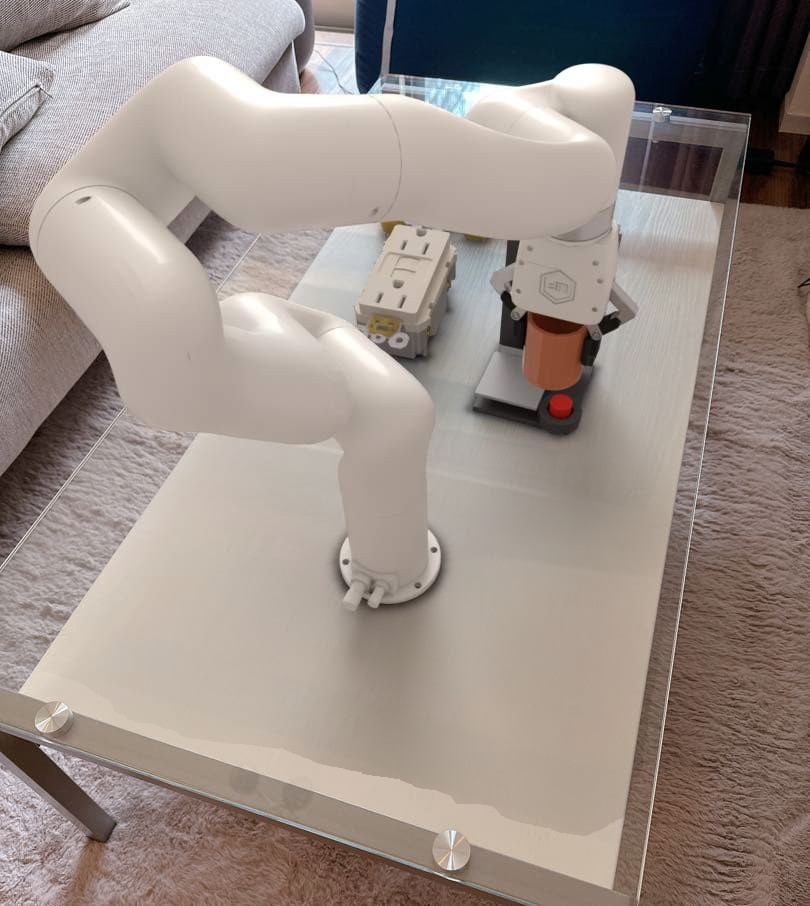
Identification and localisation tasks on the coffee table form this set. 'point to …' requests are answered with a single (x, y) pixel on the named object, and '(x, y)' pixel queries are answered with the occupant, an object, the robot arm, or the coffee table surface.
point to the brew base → (540, 404)
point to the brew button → (560, 406)
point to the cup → (552, 351)
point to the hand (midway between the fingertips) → (554, 348)
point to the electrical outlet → (407, 290)
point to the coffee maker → (512, 359)
